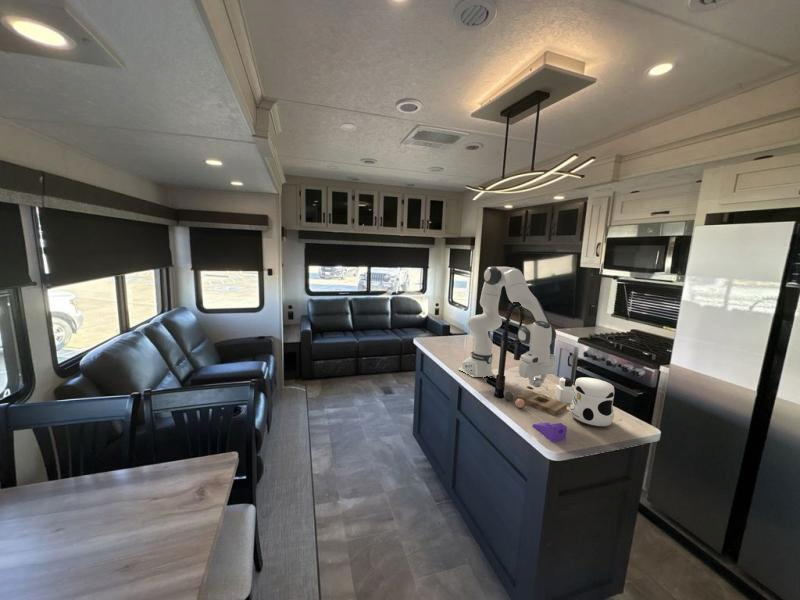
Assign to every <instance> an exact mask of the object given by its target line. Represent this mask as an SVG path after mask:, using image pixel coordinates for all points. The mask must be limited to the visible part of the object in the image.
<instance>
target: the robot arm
mask: <svg viewBox="0 0 800 600" xmlns="http://www.w3.org/2000/svg"><path fill="white" fill-rule="evenodd" d="M483 280H484V282H483V286H482V288H481V289H482V290H481V295H480V299H479V304H480V307H482V311H483V312H482V313H481V314H480V313H479V314H475V315H473V316H470V317H469V318H468V319H467V321H466V323H467V324H466V325H467V329H468V330H469V331H470V332H471V334H472V336H473V339H474V340H473V342H474V344H473V345H474V347H473V351H470V353H469V354H470V356H469V357H468V358H466V359H464V360H463V362H462V364H461V366H459V367H458V369H459V370H461V371H463V372H465V373H466V374H465V373H464V374H465V375H467V374H469V375H471V376H472V377H471V376H470V377H471V378H473V377H483V378H482V379H485V378H484V377H486V376H492V375H493V376H494V372H493V365H492V363H493V345H494V344H493V340H492V339H491V338H490V337H489V332H491V331H496V330H497V329H499V328H501V326H502V324H503V318H502V317H501V315H500V313H499V303H500V299H501V298H500V297H501V295H502V288H503V287H504V288H505V289H504V290H505V292H506V295H507V296H506V297H507V299H508V301H510V303H512V304H513V302H519V303H520V304H521V306H522V307H521V306H520V307H521V308H524V309H526V310H528V311H529V312H531V314H532V315H533V317H534V320H535V321H534V322H533V323H529V324H524V325H521V326H520V327H519V328H518V331H517V338H518V341H519V342H520V343H521V344H523V345H529V346H530V347H529V350H527V351H526V352H525V353H523V354H521V355H520V360H521V361H520V362H519V368H518V374H519V376H520V377H522V378H525V379H527V378H528V380H529V385H530V386H533V385H534V384H535V381H533V378H535V377H539V376H540V378H539V379H540V380H541V381H542V384H544V382H545V379H546V378H547V375H550V374H555V373H556V371H557V362H556V355H554V354H553V353H551V345H552V344H553V343H554V341H555V340H556V338H557V331H556V329H555V327H554V326H553V325H552V323H551V321H550V320H549V318H548V316H547V314H546V312H545V310H544V308H543V305H542V304H541V302H540V300H539V299H538V297H536V296H535V295H534V294H533V293H532V292H531V290H530V289H529V287H528V284H527V281H526V278H525V276H524V275H523V273H522V271H521V270H520V269H519V268H516V267H510V266H488V267H486V269H485V270H484V272H483ZM460 367H461V368H460ZM458 369H457V370H458ZM459 370H458V371H459ZM461 371H460V372H461ZM463 372H462V373H463ZM469 375H468V376H469Z"/></svg>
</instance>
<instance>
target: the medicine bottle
mask: <svg viewBox="0 0 800 600" xmlns="http://www.w3.org/2000/svg"><path fill="white" fill-rule="evenodd" d="M573 383H574V381H573V379H571V378H570V377H566V376H564V377H560V378H559V384H555V391H554V398H555V400H557V401H560V402H563V403H566V404H571V402H572V400H573V397H574V388H573Z"/></svg>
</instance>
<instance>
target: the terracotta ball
mask: <svg viewBox="0 0 800 600" xmlns="http://www.w3.org/2000/svg"><path fill="white" fill-rule="evenodd" d="M514 404H515V406H516V407H517V408H519V409H522V408H524V407H525V405H526V404H525V402H524V400H523V399H517V398H516V399H515V403H514Z"/></svg>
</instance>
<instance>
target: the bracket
mask: <svg viewBox="0 0 800 600" xmlns="http://www.w3.org/2000/svg"><path fill="white" fill-rule="evenodd" d="M532 428H533V429H534V430H536V431H537V432H539V433H540V434H541V435H542V436H543V435H544V437H545V438H546V439H547V440H548V441H550V442H551V443H554V442H560V441H561V442H562V441H566V439H567V431H568V427H567V426H566V425H565V424H564V423H562V422H558V423H551V422H546V421H545V422H538V423H532Z"/></svg>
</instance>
